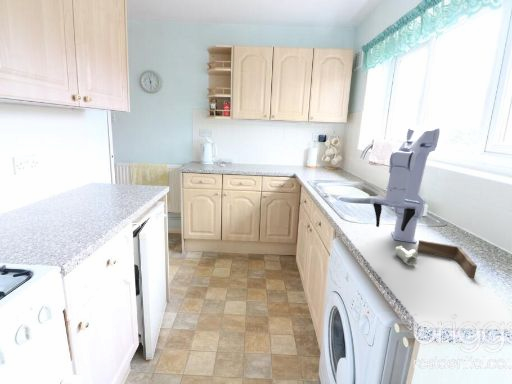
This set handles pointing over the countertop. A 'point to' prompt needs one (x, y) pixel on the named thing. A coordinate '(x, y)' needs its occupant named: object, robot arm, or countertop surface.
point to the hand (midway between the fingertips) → (389, 228)
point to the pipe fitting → (407, 255)
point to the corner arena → (449, 254)
